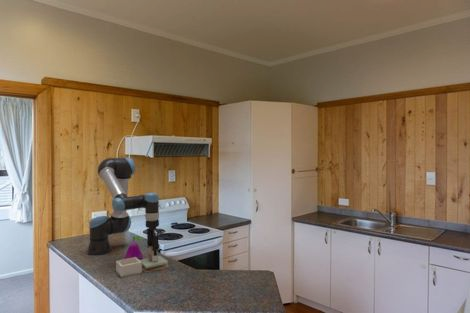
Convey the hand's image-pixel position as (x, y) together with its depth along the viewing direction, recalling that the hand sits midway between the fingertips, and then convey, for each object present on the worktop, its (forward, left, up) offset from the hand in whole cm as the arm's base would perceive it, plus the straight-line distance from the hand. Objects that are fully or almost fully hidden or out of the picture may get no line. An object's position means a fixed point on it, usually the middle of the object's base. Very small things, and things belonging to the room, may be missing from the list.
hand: (153, 259), depth 185 cm
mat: (0, 0, -4) cm, 4 cm away
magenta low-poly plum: (-19, -6, -4) cm, 20 cm away
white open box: (0, -14, -4) cm, 15 cm away
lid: (0, 0, -2) cm, 2 cm away
